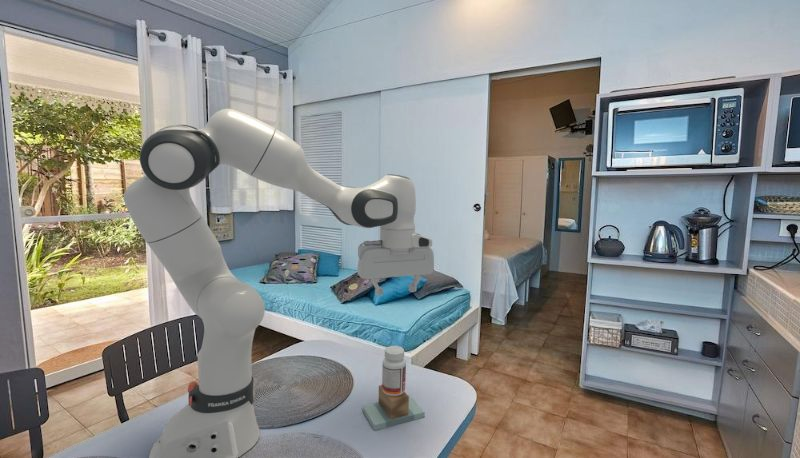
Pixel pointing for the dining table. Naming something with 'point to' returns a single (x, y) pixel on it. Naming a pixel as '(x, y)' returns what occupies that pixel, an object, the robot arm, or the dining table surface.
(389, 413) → the walnut block
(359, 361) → the dining table surface
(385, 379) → the pill bottle
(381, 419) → the plate
